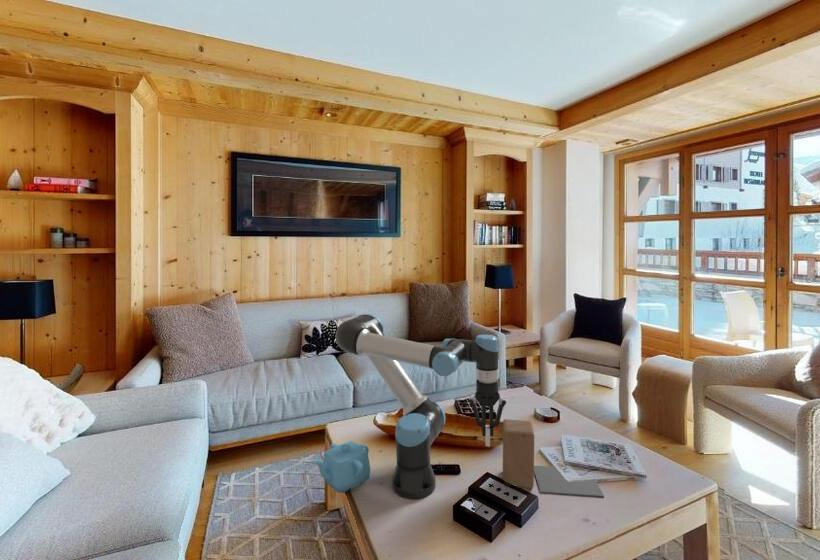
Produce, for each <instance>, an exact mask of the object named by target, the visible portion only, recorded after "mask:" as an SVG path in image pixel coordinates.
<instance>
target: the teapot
mask: <svg viewBox="0 0 820 560" xmlns="http://www.w3.org/2000/svg"><path fill="white" fill-rule="evenodd" d="M329 447H330V448H329V449H328V450H326V451H324V452H323V459H322V460H314V461H312V462H311V464H313V465H316V466H318V468H319V469H318V470H319V472H320V476H321V477H322V478H323V480H324V482H325V483H326V484H328V486H329V487H330V488H332V489H333V491H335V492H337V493H338V494H340V493H346V492H347V491H348V490H351V489H353V488H354V487H356V486H359V485H362V484H363V483H364V482H366V481H367V480H369V479H370V476H371V465H370V459H369V451H370V449H369V446H368V445H367V444H358V443H357V442H356V441H354V440H349V441H346V442H344V443H340V444H337V443H331V444H330V446H329ZM362 482H363V483H362ZM361 483H362V484H361Z"/></svg>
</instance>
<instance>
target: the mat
mask: <svg viewBox="0 0 820 560" xmlns="http://www.w3.org/2000/svg"><path fill="white" fill-rule="evenodd" d="M555 467H556V466H549V465H548V466H547V465H534V478H535V479H536V482H537V487H538V490H539V493H540V494H551V495H552V494H554V495H568V496H569V495H570V496H580V497H595V498H605V495H604V493H603V492H602V490H601V488H600V486H599V484H598V482H597V481H596V479H593V480H589V481H584V482H568V481H567V480H565V479H564V478H563V476H562V475H561V473H560V472H559V471H558V470H557V469H556V468H555Z"/></svg>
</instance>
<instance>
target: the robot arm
mask: <svg viewBox="0 0 820 560" xmlns="http://www.w3.org/2000/svg"><path fill="white" fill-rule="evenodd" d="M335 341H336V344H337V346H338V347H339V349H341V350H342V351H344V352H346V353H348V354H351V355H354V356H355V355H356V356H361V357H362V356H364V357H365V356H366V357H367V358H368V359H369V361H370V362H371V363H372V365H373V366H374V367H375V369H376V371H377V372H378V374H379V375H380V377H381V378H382V380H383V381H384V383H385V384H386V386H387V387H388V389H389V390H390V391H391V393H392V394H393V395H394V397H395V398H396V400H397V401H398V403H399V404H400V406H401V407H402V410H403V411H402V415H403V416H402V417H400V418H398V421H397V422H396V425H395V431H394V435H395V436H394V437H395V449H396V450H395V451H396V452H395V453H396V455H395V457H396V465H395V468H394V472H393V475H392V479H391V488H392V490H393V491H394V493H395V494H396V495H397V496H399V497H402V498H404V499H409V500H417V499H422V498H426V497H428V496H429V495H431V494H432V493H433V492H434V491H435V489H436V486H437V485H436V484H437V481H436V475H435V473H434V470H433V468H432V465H431V445H433V442H434V441H435V440H436V438H437V437H438V435H439V434H440V433H441V432H442V431H443V429H444V426H445V424H446V414H445V411H444V408H443V407H442V405H440V403H438V402H437V401H433V400H431V399H430V397H429V396H428V395H424V394H422V393H421V391H420V390H419V388H417V386H416V385H415V383H414V382H413V380H412V378H410V376H409V374H408V373H407V372H406V371H405V369H404V367H403V366H402V364H401V363H404V364H408V365H409V364H410V365H413V366H417V367H422V368H427V369H432V370H433V371H434V372H435V373H436V374H437V375H438V376H441V377H448V376H450V375H452V374H453V373H454V372H456V371H457V370H458V368H459V367H460V366H461V365H462V364H463V363H464V362H465V363H466V362H467V363H475V365H476V366H475V373H476V374H475V378H476V380H475V381H476V382H475V383H476V386H475V387H476V389H475V390H476V391H475V393H474V395H473V396H472V397H469V398H468V402H469V404H470V405H471V406H472V410H473V415H474V418H475V422H476V426H477V427H481V434H482V437H485V438H484V439H485V440H484V441H485V447H488V448H490V447H491V437H493V436H494V428H498V427H499V425H500V421H501V417H502V414H503V409H504V408H505V405H506V404H507V400H506V398H504V397H501V396H500V393H499V343H498V342H499V341H498V337H497V336H496V335H493V334H479V335H476V337H475V339H474V340H470V339H458V338H444V340H443V341H442V343H441V346H435V345H431V344H428V343H427V344H426V343H423V342H417V341H413V340H408V339H403V338H398V337H394V336H393V337H392V336H389V335H388V336H387V335H386V334H385V333H384V324H383V322H382V320H381V319H380V318H379V317H378V316H377V315H374V314H371V313H363V314H360V315H358V316H356V317H353V318H350V319H347V320H344V321H343V322H342V323H340V324H339V326H338V327H337V329H336V331H335ZM400 362H401V363H400ZM477 402H478V403H479V404H480V405H481V419H480V415H479V412H478V407H477V404H476V403H477ZM497 403H498V407H497V410H496V415H495V418H494V406H496V404H497ZM487 407H488V409H489V411H488V412H489V413H488V414H489V416H488V417H489V419H488V422H489V423H488V424H487V417H486V415H487V414H486V412H487V411H486V410H487V409H486V408H487Z"/></svg>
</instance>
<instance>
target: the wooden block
mask: <svg viewBox="0 0 820 560" xmlns="http://www.w3.org/2000/svg"><path fill="white" fill-rule="evenodd" d="M534 466H535V432H534V427H533V423H532V422H531V421H530V420H524V419H523V420H521V419H503V421H502V479H503V480H504V481H507V482H509V483H511V484H513V485H516V486H518V487H517V488H523V489H534V484H535V483H534V482H535V473H534Z"/></svg>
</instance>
